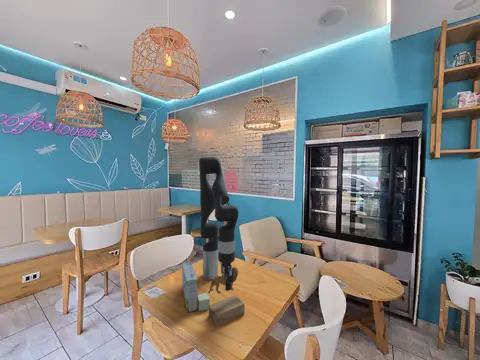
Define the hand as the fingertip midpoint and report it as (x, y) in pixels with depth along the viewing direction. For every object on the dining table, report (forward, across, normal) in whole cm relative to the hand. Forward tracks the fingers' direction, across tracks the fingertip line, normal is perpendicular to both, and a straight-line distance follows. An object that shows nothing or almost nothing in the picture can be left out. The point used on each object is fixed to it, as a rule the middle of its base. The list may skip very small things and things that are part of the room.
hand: (226, 287), depth 94 cm
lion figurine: (+1, 0, -1) cm, 1 cm away
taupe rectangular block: (+13, 0, 0) cm, 13 cm away
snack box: (+13, -18, -15) cm, 26 cm away
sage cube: (+13, -9, -9) cm, 18 cm away
